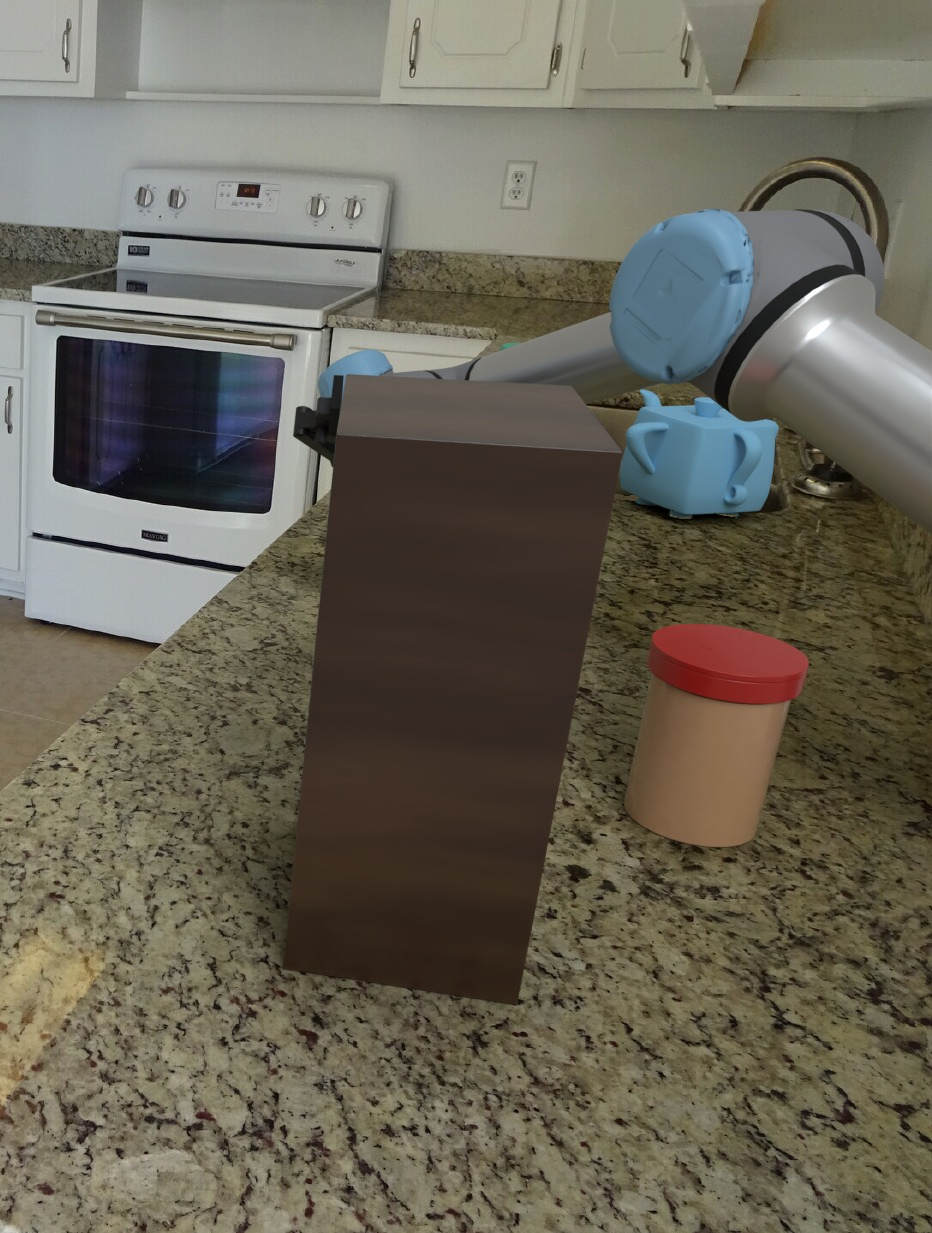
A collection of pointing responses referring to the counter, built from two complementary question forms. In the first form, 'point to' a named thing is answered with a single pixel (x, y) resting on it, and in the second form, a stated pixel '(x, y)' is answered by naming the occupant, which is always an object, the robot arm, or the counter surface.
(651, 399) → the teapot
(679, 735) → the jam jar
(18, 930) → the counter surface
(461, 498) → the stand
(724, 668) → the lid
